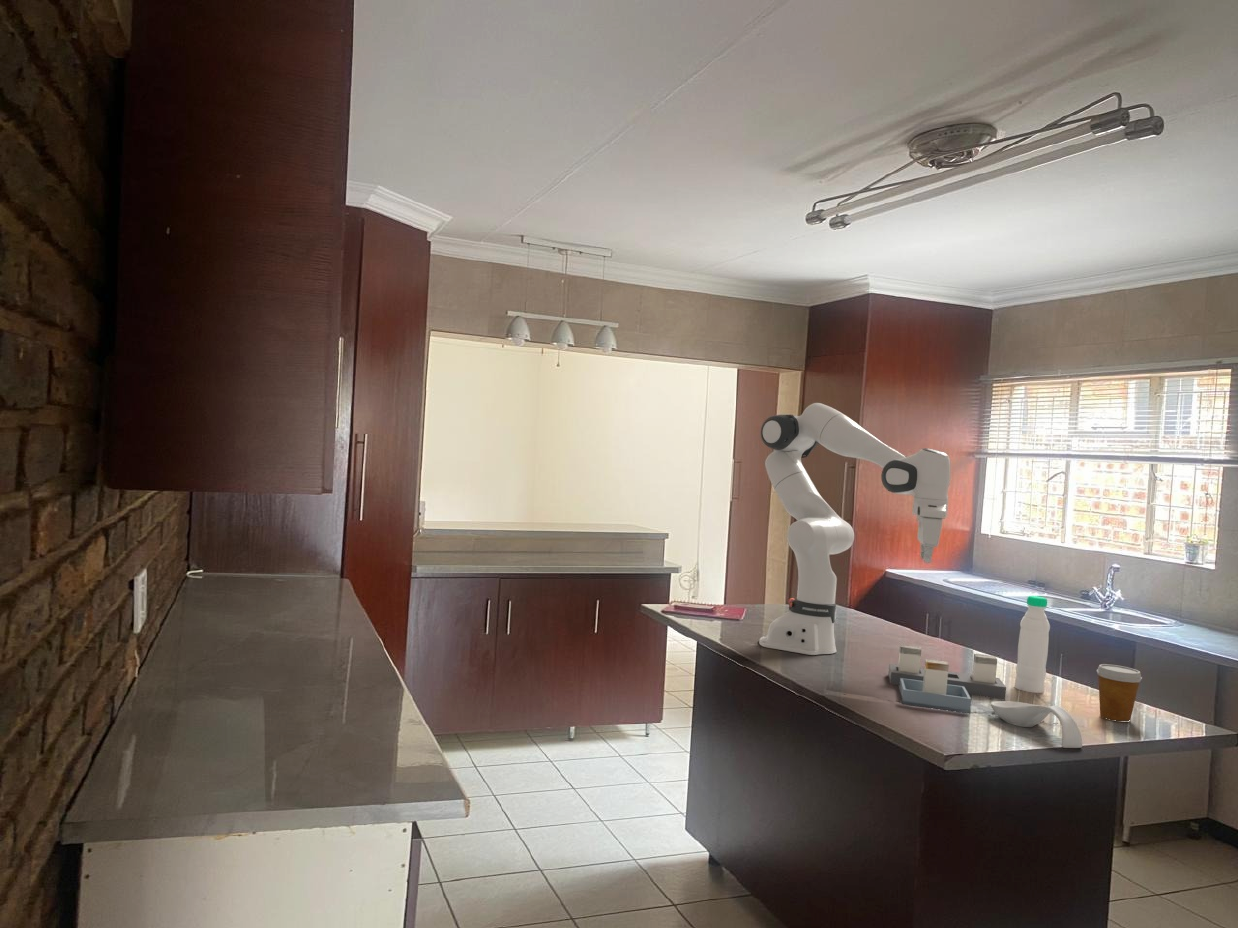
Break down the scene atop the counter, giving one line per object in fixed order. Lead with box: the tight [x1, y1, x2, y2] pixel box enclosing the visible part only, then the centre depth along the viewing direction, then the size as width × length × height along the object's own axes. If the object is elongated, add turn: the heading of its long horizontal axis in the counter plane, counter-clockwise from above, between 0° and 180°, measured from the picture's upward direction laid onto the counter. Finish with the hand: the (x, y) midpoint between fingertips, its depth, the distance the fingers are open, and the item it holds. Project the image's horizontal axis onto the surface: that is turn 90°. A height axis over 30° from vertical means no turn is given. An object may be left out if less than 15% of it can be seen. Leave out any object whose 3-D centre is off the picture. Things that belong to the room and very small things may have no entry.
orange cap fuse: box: [922, 658, 949, 695], centre depth 215 cm, size 5×4×9 cm
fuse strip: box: [888, 663, 1007, 701], centre depth 228 cm, size 27×10×4 cm, turn 76°
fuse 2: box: [972, 653, 998, 683], centre depth 226 cm, size 5×4×9 cm
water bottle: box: [1014, 595, 1051, 694], centre depth 233 cm, size 7×7×25 cm
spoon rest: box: [990, 700, 1083, 749], centre depth 199 cm, size 24×12×7 cm, turn 14°
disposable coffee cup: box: [1096, 663, 1143, 721], centre depth 214 cm, size 10×10×12 cm
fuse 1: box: [897, 644, 922, 673], centre depth 230 cm, size 5×4×9 cm
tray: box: [898, 678, 972, 714], centre depth 215 cm, size 15×12×4 cm
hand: (925, 560), depth 242 cm, fingers open, 8 cm apart
